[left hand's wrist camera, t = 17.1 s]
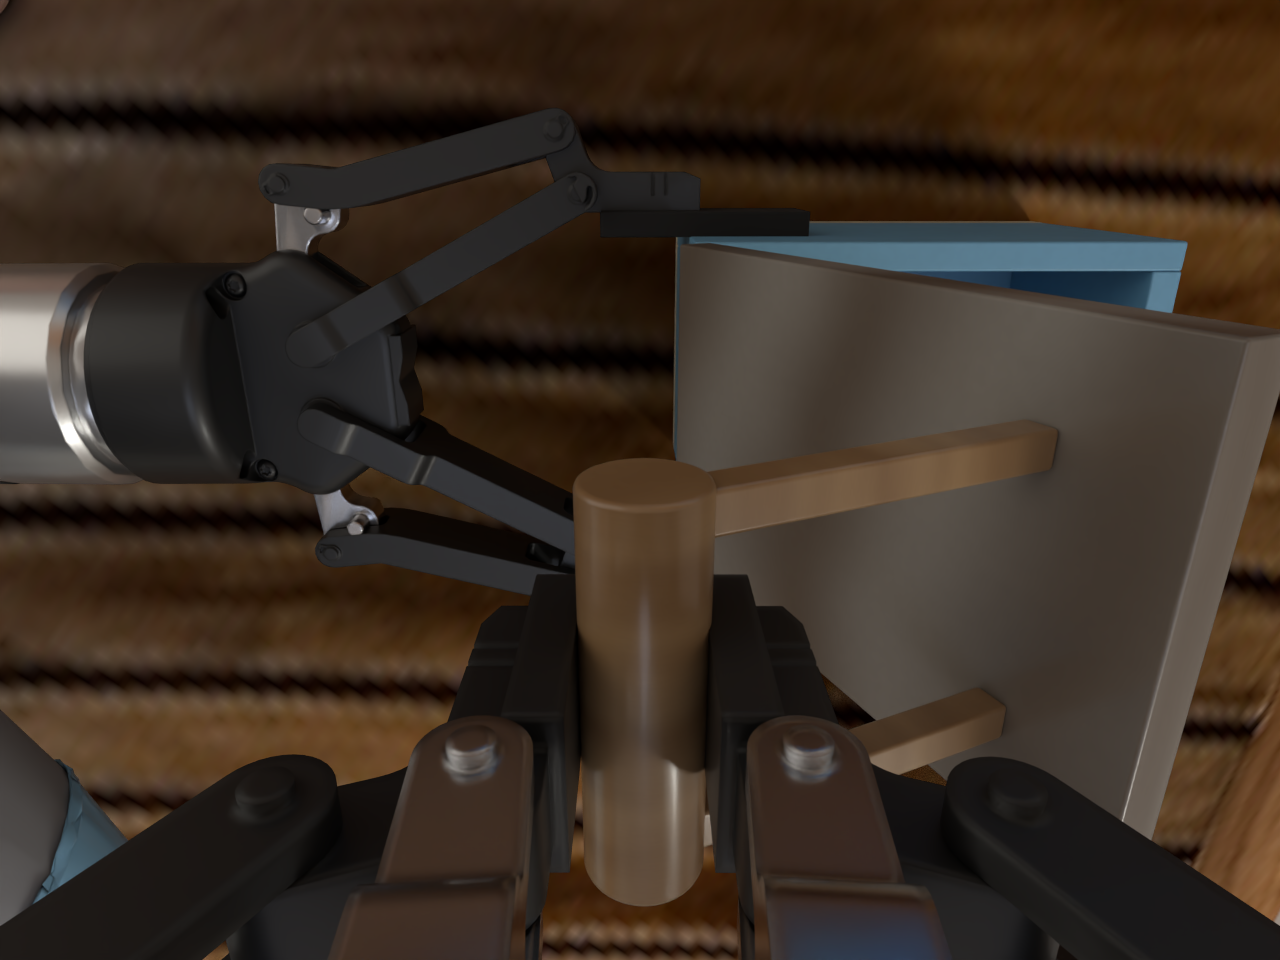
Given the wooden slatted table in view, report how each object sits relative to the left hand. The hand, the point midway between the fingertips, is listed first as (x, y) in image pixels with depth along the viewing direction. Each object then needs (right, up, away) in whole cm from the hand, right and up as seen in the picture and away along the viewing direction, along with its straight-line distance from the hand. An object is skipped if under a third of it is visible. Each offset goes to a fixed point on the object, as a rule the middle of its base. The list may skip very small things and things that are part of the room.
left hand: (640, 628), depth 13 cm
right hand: (+5, +6, +16) cm, 18 cm away
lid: (+5, +2, +6) cm, 8 cm away
